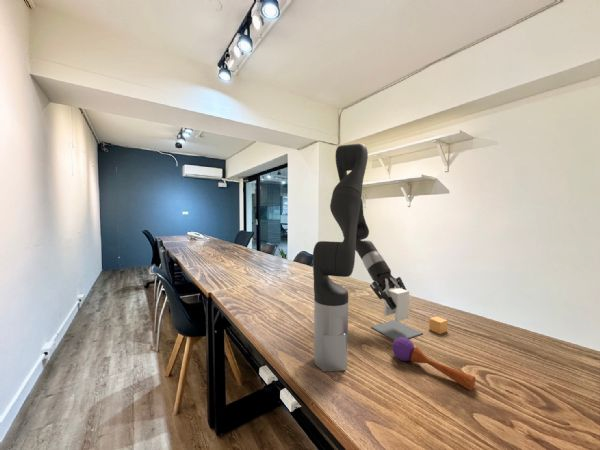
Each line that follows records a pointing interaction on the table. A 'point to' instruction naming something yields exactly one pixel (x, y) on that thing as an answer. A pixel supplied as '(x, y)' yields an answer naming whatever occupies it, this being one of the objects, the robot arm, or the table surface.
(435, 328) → the block
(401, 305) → the cover
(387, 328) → the mat
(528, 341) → the table surface
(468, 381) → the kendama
